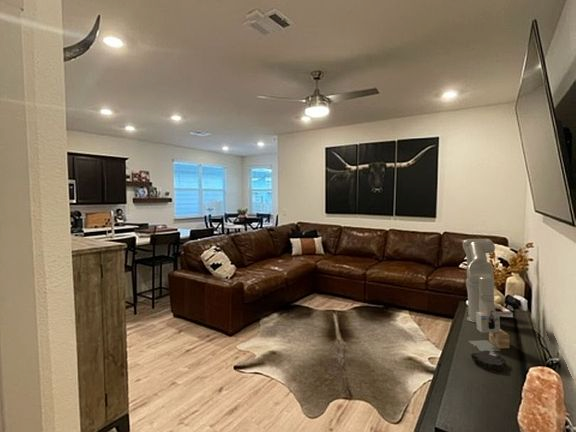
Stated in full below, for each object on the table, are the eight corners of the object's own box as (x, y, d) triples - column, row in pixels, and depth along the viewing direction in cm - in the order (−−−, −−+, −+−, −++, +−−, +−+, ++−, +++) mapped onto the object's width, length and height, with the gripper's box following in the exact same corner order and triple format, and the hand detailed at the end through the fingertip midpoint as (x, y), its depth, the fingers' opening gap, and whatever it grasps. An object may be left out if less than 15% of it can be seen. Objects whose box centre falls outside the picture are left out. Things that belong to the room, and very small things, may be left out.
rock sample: (512, 373, 163) (512, 364, 163) (478, 372, 166) (477, 362, 166) (497, 357, 180) (497, 348, 180) (467, 356, 183) (466, 347, 183)
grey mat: (468, 341, 201) (468, 341, 201) (486, 340, 201) (486, 340, 200) (481, 351, 187) (481, 351, 187) (500, 350, 187) (500, 350, 187)
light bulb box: (494, 328, 197) (493, 310, 197) (500, 332, 191) (499, 314, 190) (476, 328, 198) (475, 311, 198) (481, 333, 192) (480, 315, 191)
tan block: (489, 341, 199) (488, 328, 199) (499, 340, 199) (498, 328, 199) (499, 348, 189) (498, 335, 189) (509, 348, 189) (509, 334, 189)
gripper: (472, 293, 203) (473, 321, 203) (488, 301, 185) (490, 332, 186) (484, 292, 202) (486, 320, 203) (502, 301, 185) (503, 331, 186)
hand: (488, 326), depth 194 cm, fingers closed on light bulb box, 6 cm apart
